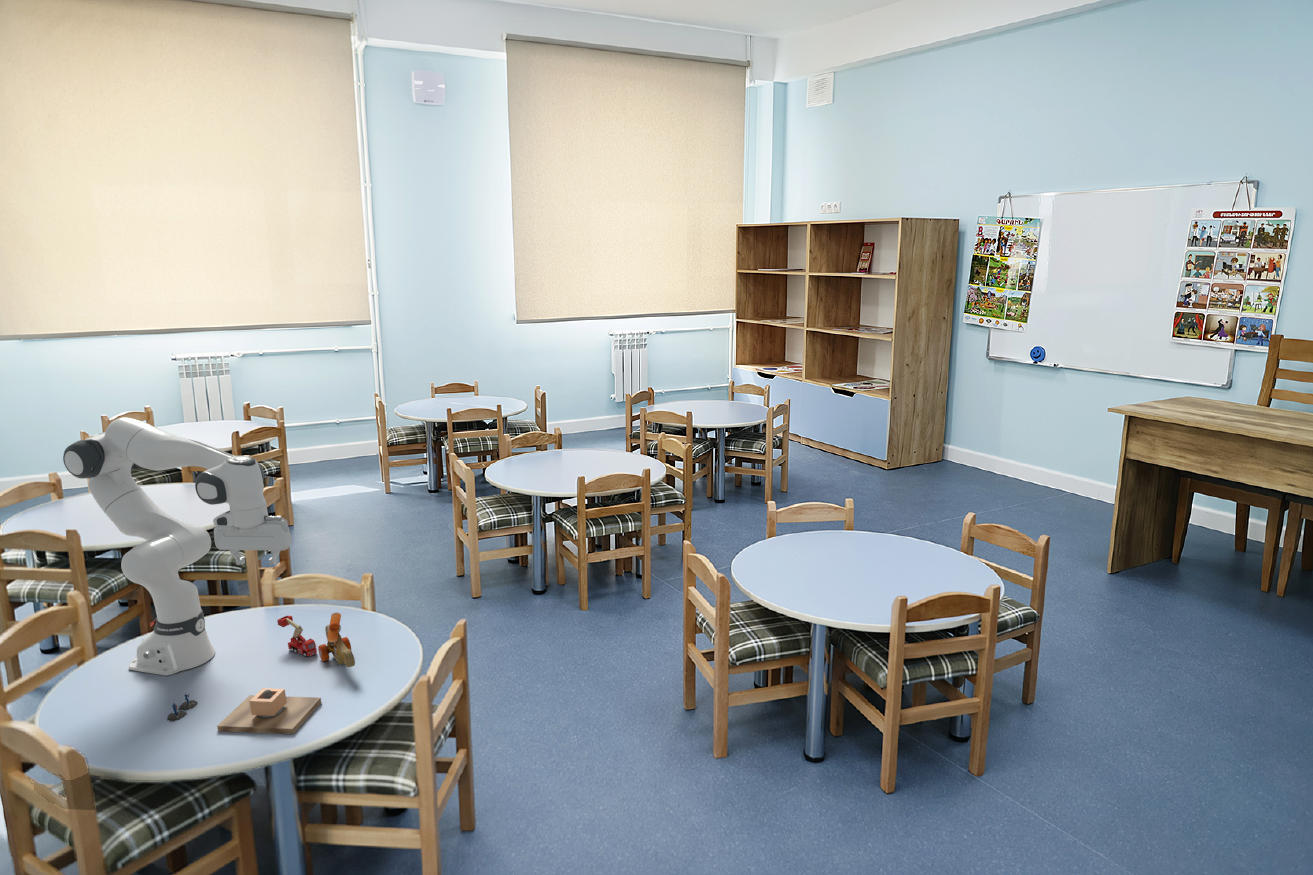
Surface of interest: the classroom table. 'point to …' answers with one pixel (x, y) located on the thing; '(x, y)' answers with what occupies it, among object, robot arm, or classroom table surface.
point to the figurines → (184, 706)
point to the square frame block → (268, 702)
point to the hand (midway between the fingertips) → (257, 564)
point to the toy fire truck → (298, 638)
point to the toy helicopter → (336, 644)
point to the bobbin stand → (280, 723)
